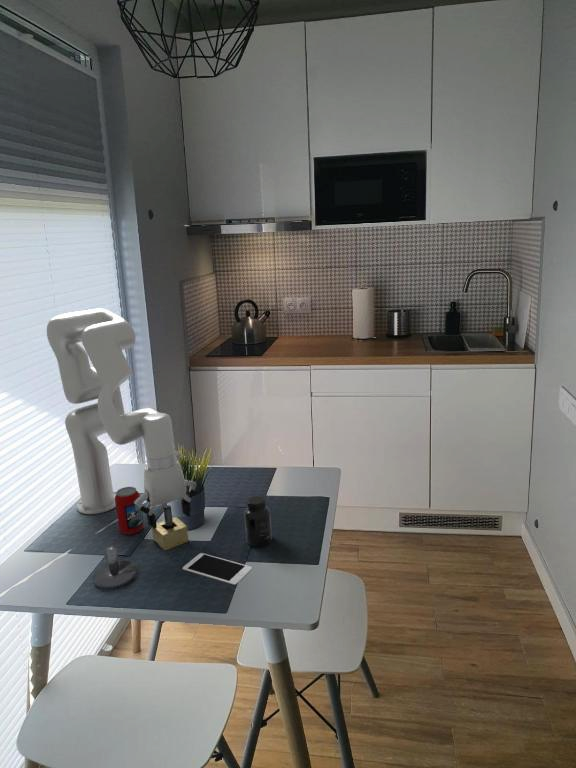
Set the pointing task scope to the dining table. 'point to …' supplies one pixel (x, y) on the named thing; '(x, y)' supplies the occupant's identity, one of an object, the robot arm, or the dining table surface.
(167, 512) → the stand rod
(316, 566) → the dining table surface
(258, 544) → the supplement bottle
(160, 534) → the collar
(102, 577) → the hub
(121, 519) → the beverage can
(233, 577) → the cell phone
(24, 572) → the dining table surface
